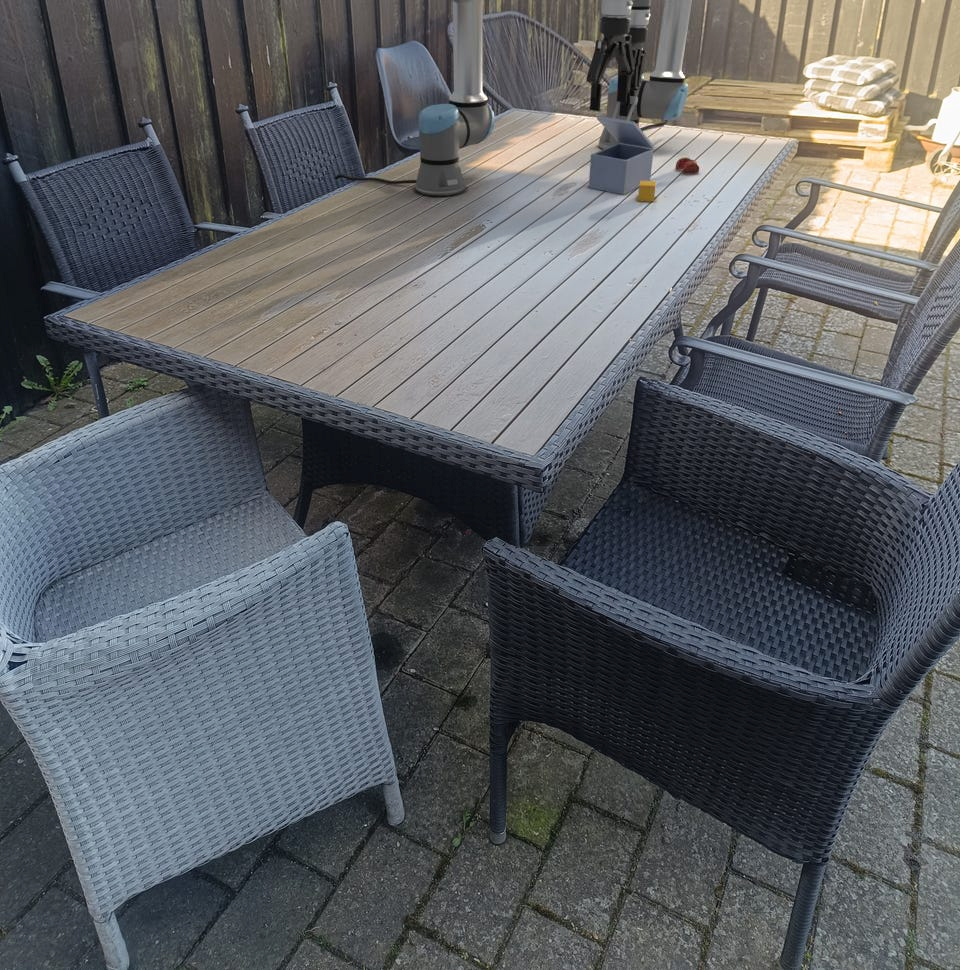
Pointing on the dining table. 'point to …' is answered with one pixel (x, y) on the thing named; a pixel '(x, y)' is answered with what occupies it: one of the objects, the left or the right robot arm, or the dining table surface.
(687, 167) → the dark red rounded lump
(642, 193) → the block
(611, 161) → the chest
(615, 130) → the lid
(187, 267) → the dining table surface
